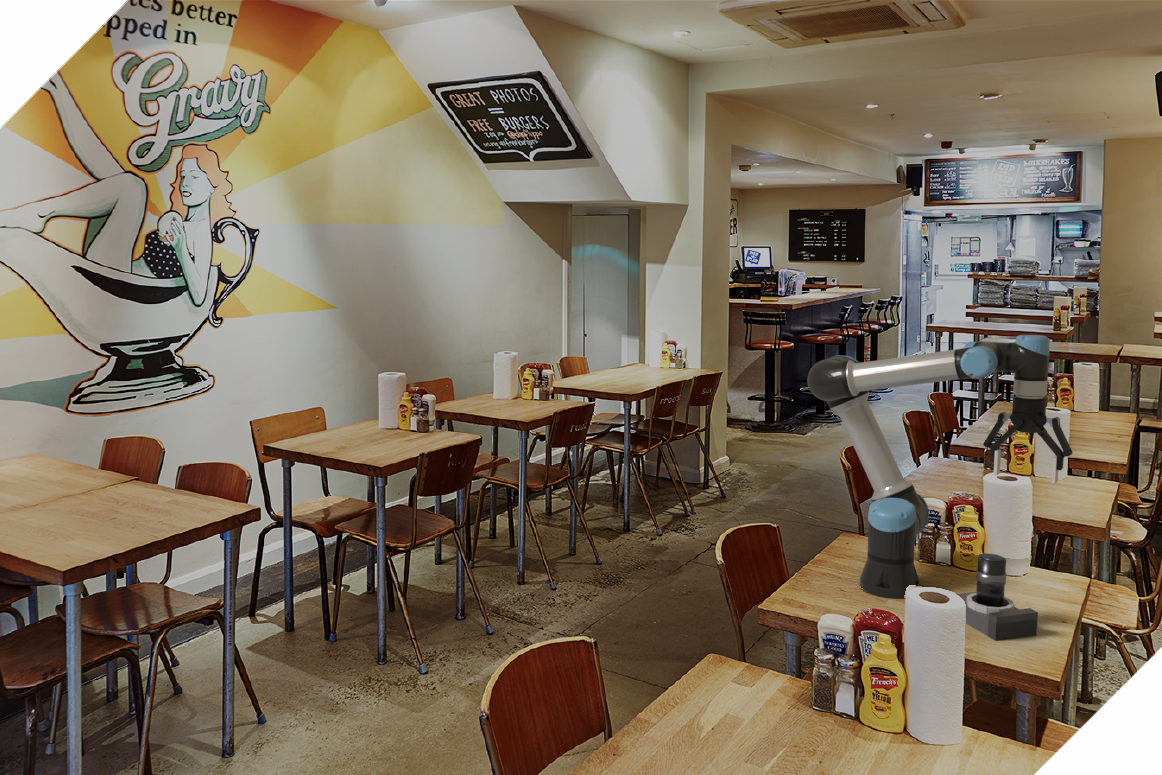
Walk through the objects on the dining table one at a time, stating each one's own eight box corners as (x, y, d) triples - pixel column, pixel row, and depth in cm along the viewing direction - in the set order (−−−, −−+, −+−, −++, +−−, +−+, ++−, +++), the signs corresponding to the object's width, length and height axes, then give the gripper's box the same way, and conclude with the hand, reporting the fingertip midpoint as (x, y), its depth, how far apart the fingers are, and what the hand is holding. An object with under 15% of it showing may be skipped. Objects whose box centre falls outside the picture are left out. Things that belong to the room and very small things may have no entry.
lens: (968, 602, 206) (971, 553, 204) (991, 600, 208) (994, 551, 206) (987, 612, 200) (989, 562, 198) (1010, 610, 201) (1013, 560, 200)
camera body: (944, 610, 212) (945, 589, 211) (983, 606, 214) (984, 584, 213) (995, 640, 194) (996, 617, 194) (1036, 635, 197) (1037, 612, 196)
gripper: (1089, 398, 210) (1083, 482, 212) (982, 390, 226) (978, 468, 229) (1082, 402, 204) (1076, 488, 207) (973, 393, 221) (969, 473, 223)
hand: (1025, 478), depth 218 cm, fingers open, 13 cm apart
